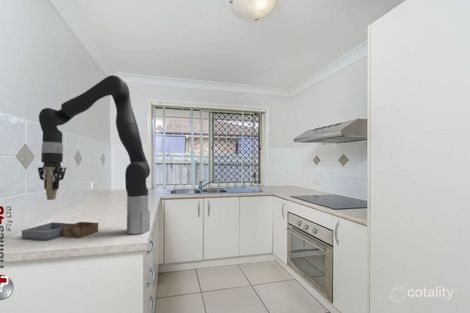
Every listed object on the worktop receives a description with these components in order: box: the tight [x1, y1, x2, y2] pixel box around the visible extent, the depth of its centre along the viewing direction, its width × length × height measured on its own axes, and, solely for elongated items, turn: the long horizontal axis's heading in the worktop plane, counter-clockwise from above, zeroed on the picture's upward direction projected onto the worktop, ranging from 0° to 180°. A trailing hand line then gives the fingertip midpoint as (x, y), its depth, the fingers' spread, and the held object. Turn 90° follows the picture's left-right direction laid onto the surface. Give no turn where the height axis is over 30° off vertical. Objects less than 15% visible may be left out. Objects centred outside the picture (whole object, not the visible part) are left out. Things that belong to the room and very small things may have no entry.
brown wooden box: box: [61, 221, 99, 239], centre depth 100 cm, size 10×9×4 cm
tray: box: [21, 221, 72, 242], centre depth 99 cm, size 14×13×4 cm
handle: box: [44, 167, 58, 201], centre depth 100 cm, size 5×6×15 cm
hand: (51, 189), depth 100 cm, fingers closed on handle, 4 cm apart
